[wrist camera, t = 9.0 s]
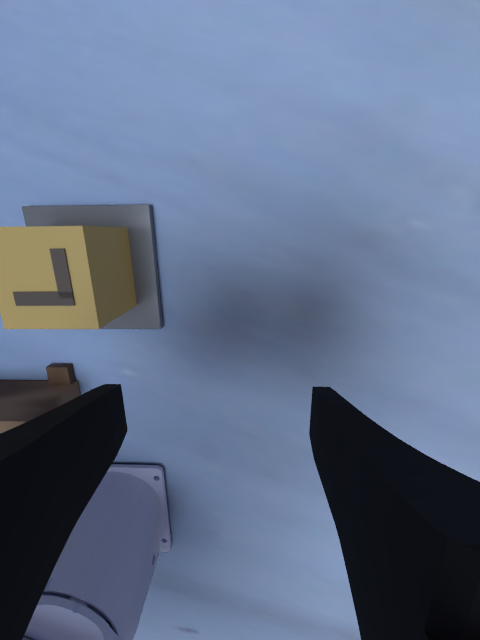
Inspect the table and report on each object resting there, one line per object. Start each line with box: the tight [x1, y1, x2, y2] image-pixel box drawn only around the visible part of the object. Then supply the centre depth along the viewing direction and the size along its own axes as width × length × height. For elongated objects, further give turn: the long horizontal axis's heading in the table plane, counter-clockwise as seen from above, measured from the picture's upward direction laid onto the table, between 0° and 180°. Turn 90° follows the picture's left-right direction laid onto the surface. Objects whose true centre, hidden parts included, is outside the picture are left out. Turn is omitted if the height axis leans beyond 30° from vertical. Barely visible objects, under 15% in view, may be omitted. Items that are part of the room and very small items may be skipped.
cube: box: [0, 226, 137, 329], centre depth 16 cm, size 5×5×5 cm
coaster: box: [22, 205, 163, 329], centre depth 19 cm, size 8×8×1 cm
